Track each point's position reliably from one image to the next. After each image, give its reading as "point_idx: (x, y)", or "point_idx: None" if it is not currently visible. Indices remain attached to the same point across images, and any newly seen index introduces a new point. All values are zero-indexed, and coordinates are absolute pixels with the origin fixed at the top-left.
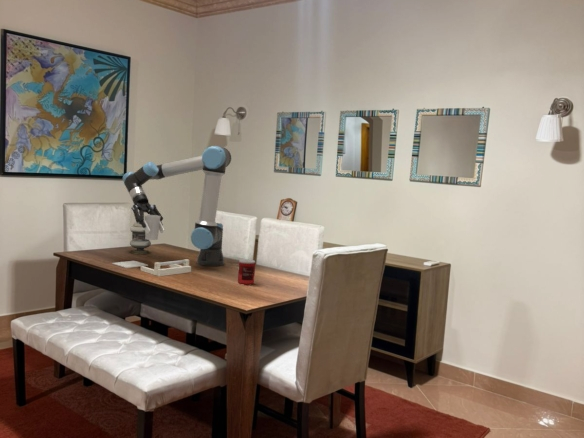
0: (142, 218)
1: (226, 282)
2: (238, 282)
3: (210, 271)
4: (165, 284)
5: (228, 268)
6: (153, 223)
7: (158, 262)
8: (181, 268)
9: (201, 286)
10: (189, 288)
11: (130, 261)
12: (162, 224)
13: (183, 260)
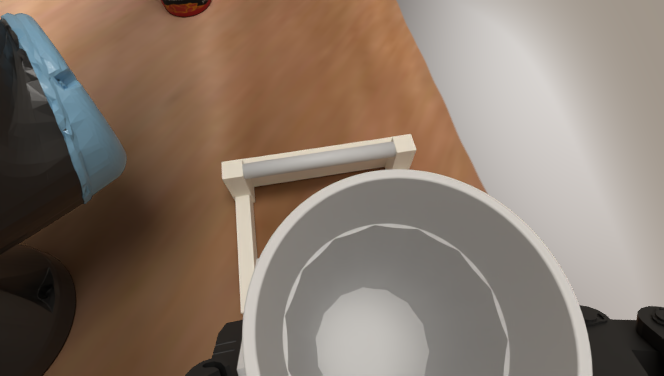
0: (604, 340)
1: (231, 23)
2: (208, 2)
3: (153, 161)
4: (418, 55)
5: None
6: (409, 229)
7: (396, 149)
8: (286, 154)
9: (328, 12)
10: (371, 6)
11: None
12: (222, 336)
13: (254, 162)
